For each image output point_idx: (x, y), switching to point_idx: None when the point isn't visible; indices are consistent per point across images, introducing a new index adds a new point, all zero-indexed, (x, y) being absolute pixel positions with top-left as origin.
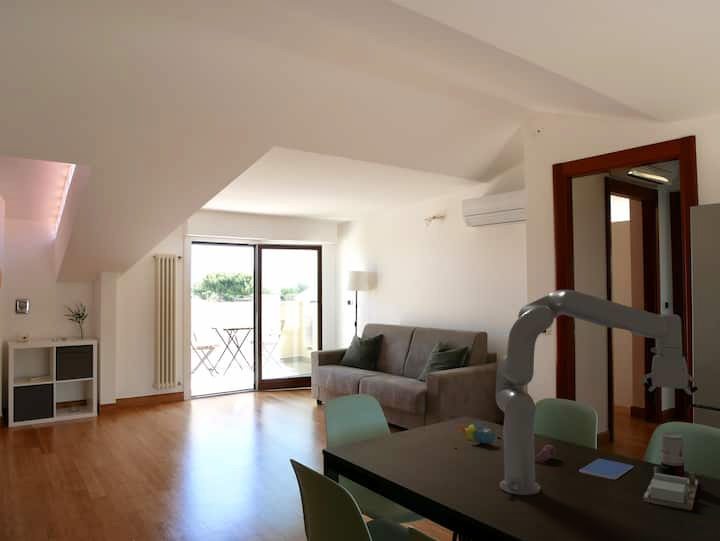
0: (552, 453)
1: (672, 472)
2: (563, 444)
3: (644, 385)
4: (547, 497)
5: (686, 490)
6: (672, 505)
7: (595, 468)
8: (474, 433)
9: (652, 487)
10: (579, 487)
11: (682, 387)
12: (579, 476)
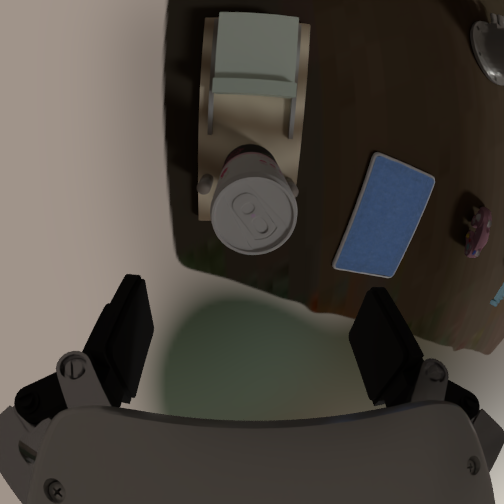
0: (465, 247)
1: (250, 148)
2: (425, 326)
3: (472, 393)
4: (455, 16)
5: (217, 118)
6: None
7: (408, 205)
8: None
9: (294, 17)
10: (429, 75)
11: (90, 412)
12: (433, 147)
